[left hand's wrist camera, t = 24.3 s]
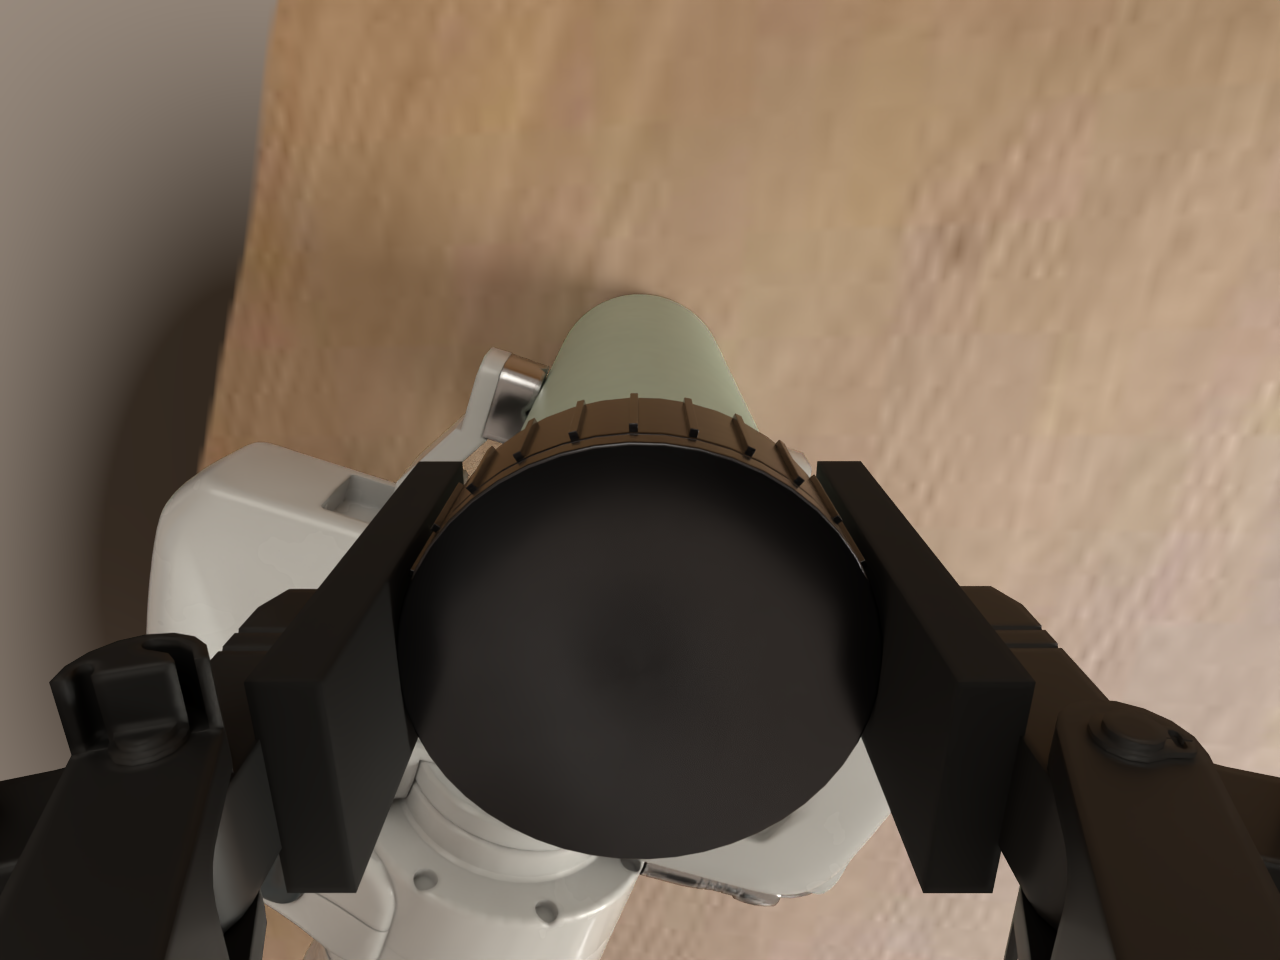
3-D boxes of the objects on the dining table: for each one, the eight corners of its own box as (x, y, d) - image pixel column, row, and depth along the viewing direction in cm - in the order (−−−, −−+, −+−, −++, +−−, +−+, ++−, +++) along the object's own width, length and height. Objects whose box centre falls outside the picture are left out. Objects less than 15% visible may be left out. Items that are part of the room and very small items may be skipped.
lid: (811, 777, 13) (840, 879, 11) (429, 749, 13) (392, 848, 11) (887, 413, 11) (940, 462, 9) (429, 371, 11) (384, 412, 9)
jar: (743, 429, 26) (870, 732, 12) (589, 478, 27) (530, 822, 12) (694, 270, 24) (775, 395, 10) (531, 325, 25) (383, 520, 11)
